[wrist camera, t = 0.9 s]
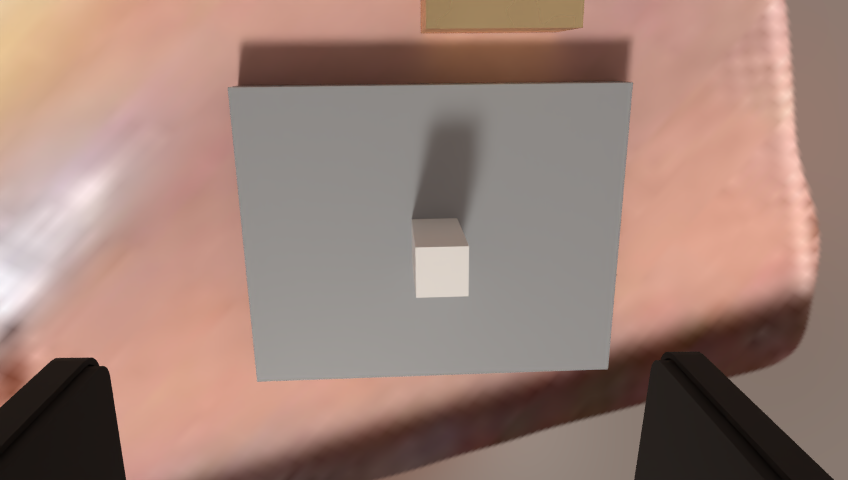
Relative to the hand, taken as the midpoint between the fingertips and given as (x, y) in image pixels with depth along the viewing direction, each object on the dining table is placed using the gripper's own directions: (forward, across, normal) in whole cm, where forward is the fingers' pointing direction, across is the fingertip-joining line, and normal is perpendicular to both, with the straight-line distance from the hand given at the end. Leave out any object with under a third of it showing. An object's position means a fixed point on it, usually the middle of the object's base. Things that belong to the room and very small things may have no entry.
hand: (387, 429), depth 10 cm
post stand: (+23, -2, +3) cm, 24 cm away
